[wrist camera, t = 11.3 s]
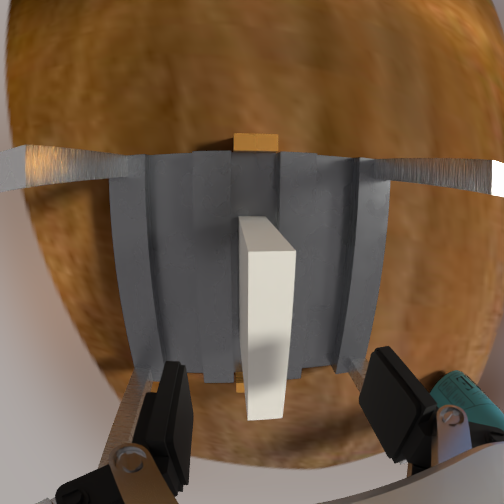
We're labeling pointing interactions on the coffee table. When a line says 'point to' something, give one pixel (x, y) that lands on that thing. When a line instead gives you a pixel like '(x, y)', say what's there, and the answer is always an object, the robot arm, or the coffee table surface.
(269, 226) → the block
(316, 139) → the coffee table surface
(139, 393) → the rack
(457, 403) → the beverage bottle
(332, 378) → the coffee table surface
